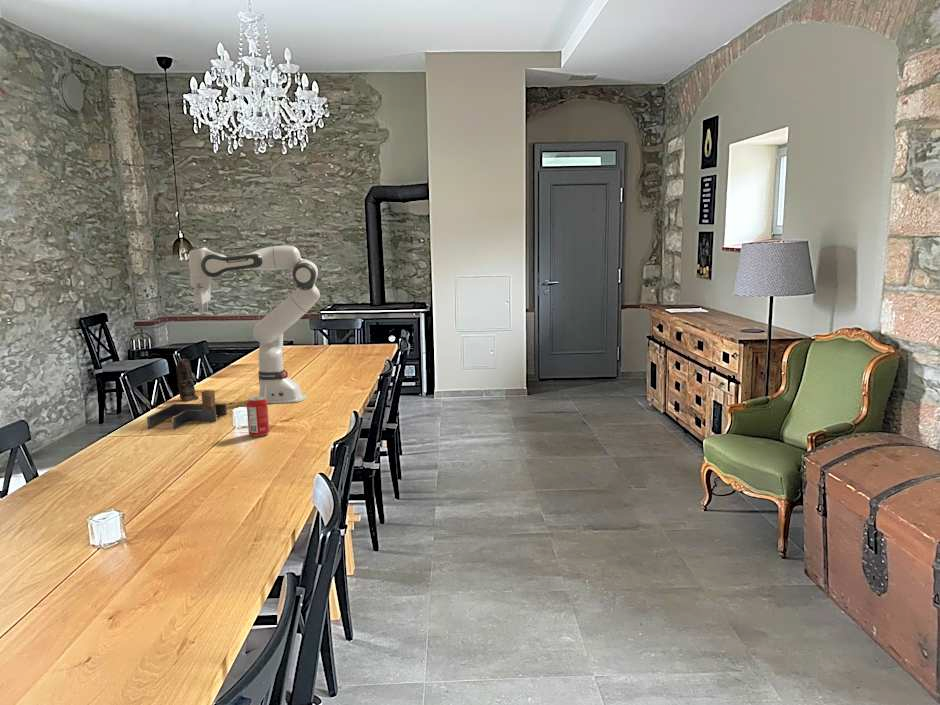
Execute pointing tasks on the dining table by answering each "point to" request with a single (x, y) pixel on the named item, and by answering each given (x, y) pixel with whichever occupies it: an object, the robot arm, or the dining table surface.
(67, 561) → the dining table surface
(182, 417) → the channel
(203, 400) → the walnut block
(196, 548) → the dining table surface
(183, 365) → the statue
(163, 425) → the pad
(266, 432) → the soda can
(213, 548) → the dining table surface
